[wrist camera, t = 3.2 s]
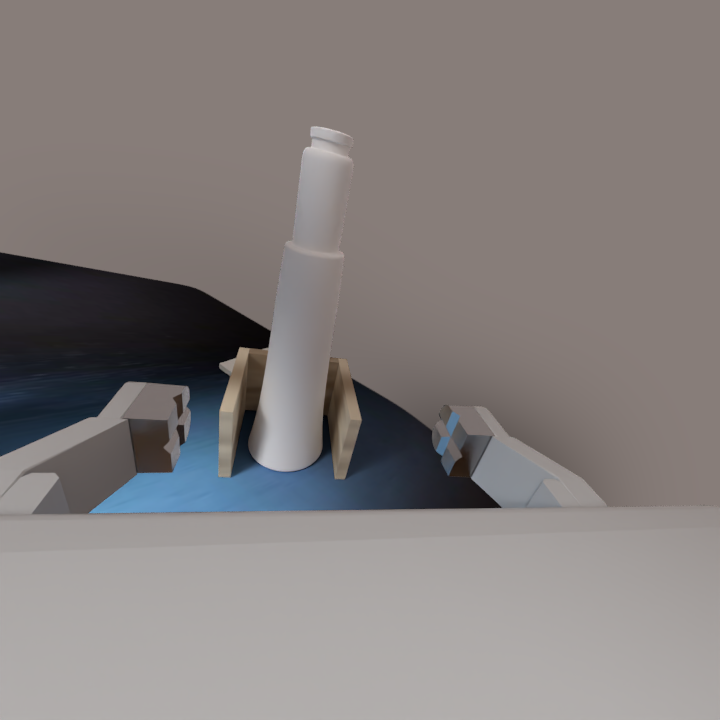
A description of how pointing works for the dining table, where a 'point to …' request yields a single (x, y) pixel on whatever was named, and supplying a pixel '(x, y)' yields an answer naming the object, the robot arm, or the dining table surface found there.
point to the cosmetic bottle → (305, 311)
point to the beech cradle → (247, 395)
